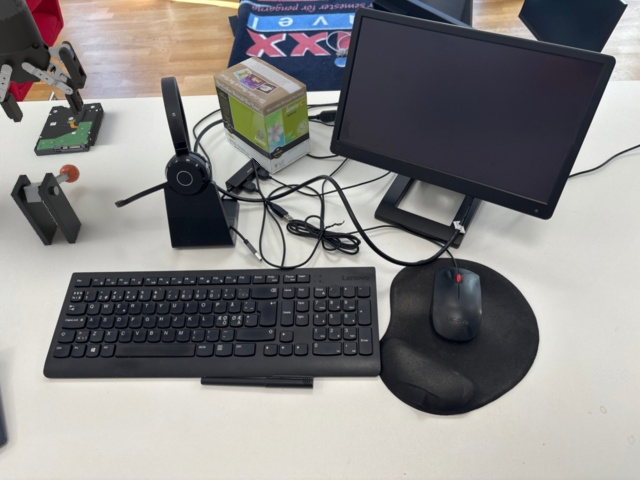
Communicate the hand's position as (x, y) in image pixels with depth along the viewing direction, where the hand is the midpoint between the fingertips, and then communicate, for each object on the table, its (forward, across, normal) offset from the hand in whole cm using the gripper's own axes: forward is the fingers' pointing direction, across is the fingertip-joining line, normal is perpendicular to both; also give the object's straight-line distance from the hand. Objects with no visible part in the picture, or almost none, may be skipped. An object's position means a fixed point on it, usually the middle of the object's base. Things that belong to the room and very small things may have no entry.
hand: (49, 115), depth 77 cm
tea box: (+20, -31, -12) cm, 39 cm away
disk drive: (+20, +8, -23) cm, 32 cm away
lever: (+13, +4, +2) cm, 14 cm away
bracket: (+20, +4, +6) cm, 21 cm away
